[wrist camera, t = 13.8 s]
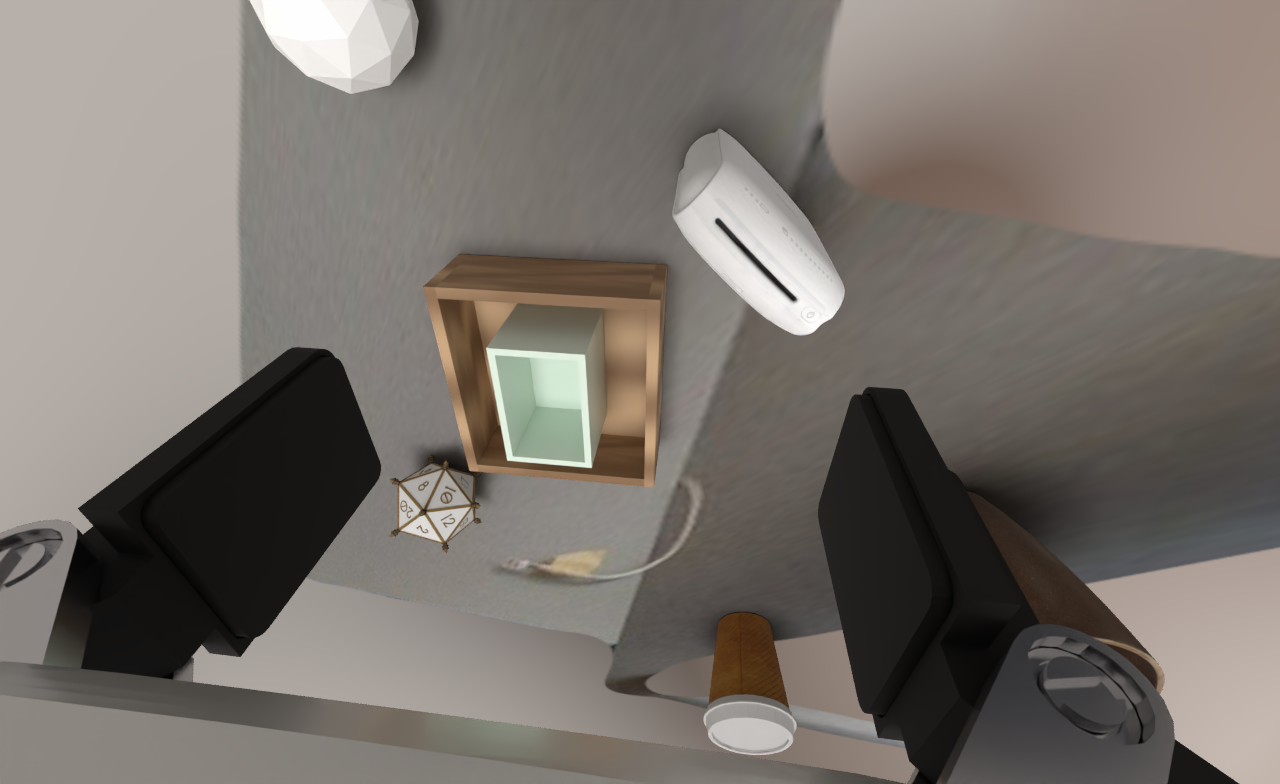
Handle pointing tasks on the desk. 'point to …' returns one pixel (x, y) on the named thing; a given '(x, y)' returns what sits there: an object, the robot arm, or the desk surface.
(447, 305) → the big crate
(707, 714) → the disposable coffee cup
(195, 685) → the robot arm
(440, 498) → the game die
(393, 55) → the geometric ball
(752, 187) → the photo printer
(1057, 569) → the plant pot
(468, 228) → the desk surface
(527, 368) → the box
